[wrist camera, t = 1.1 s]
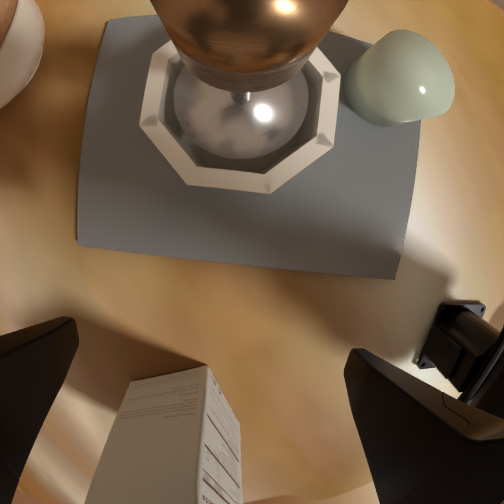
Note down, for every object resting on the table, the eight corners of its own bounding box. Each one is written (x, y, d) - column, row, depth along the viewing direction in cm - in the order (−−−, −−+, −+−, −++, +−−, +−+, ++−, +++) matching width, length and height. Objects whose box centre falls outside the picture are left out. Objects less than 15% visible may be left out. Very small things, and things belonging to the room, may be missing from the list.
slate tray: (417, 66, 16) (421, 64, 15) (390, 276, 20) (394, 279, 19) (111, 22, 14) (108, 19, 13) (81, 243, 18) (77, 245, 17)
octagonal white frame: (319, 46, 15) (344, 11, 10) (301, 193, 17) (325, 202, 12) (185, 30, 14) (169, -10, 9) (160, 177, 17) (132, 181, 12)
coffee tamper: (311, 52, 11) (403, -70, 2) (297, 168, 13) (417, 168, 4) (187, 38, 11) (131, -100, 2) (167, 153, 12) (37, 129, 3)
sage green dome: (410, 70, 15) (452, 51, 10) (407, 135, 16) (454, 129, 12) (345, 48, 15) (377, 16, 10) (340, 116, 16) (375, 99, 11)
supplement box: (168, 434, 23) (147, 547, 11) (129, 378, 21) (78, 504, 9) (242, 422, 23) (248, 549, 11) (210, 362, 21) (196, 515, 9)
